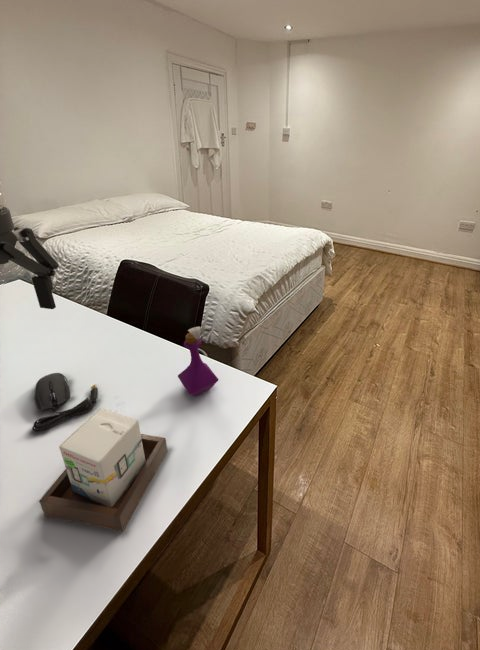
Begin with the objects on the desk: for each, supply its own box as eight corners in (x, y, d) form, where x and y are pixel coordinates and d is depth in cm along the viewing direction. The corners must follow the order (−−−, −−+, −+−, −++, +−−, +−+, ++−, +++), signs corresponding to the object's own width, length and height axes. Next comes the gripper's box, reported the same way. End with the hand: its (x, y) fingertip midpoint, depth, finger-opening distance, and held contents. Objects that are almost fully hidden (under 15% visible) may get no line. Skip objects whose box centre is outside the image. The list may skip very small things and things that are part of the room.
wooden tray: (44, 515, 53) (38, 501, 52) (103, 440, 66) (100, 426, 65) (123, 531, 52) (119, 516, 50) (167, 451, 65) (165, 437, 63)
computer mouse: (94, 365, 86) (91, 353, 84) (101, 410, 73) (97, 397, 71) (36, 383, 79) (32, 370, 78) (32, 436, 66) (27, 422, 64)
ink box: (71, 492, 56) (56, 445, 51) (111, 449, 63) (101, 405, 59) (111, 510, 54) (98, 462, 49) (147, 463, 61) (139, 418, 57)
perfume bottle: (178, 385, 81) (171, 325, 74) (206, 373, 85) (202, 315, 79) (190, 404, 75) (183, 341, 69) (219, 390, 80) (216, 329, 73)
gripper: (-113, 236, 37) (-47, 381, 44) (64, 195, 60) (87, 295, 67) (-168, 230, 37) (-94, 374, 45) (28, 192, 60) (55, 291, 68)
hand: (14, 327), depth 56 cm, fingers open, 13 cm apart
